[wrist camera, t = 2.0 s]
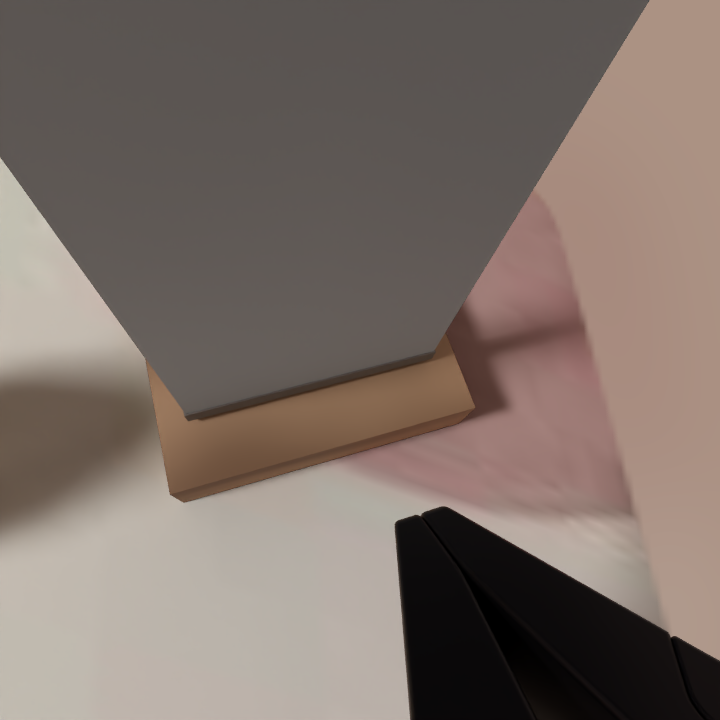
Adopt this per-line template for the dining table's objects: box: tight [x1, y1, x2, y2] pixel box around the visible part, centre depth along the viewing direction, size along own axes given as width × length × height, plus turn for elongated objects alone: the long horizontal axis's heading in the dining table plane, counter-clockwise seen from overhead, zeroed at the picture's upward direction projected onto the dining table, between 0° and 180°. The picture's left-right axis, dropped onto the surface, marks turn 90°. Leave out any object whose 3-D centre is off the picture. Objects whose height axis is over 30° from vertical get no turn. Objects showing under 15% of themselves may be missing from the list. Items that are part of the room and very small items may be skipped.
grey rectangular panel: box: [0, 0, 649, 421], centre depth 11 cm, size 1×8×14 cm, turn 107°
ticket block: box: [146, 332, 475, 502], centre depth 19 cm, size 10×10×2 cm
